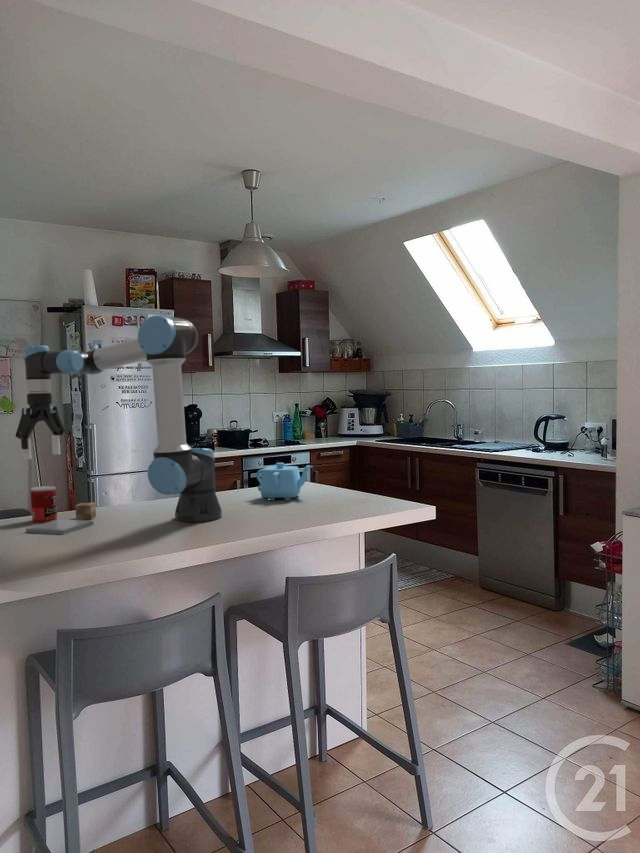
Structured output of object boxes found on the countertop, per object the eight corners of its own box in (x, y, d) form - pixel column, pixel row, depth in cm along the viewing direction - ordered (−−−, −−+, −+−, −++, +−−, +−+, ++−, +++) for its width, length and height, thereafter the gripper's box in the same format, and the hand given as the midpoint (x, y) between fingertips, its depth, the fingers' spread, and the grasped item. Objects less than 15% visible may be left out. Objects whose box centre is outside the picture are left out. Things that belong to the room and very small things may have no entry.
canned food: (48, 523, 218) (46, 489, 217) (27, 522, 220) (25, 489, 219) (62, 518, 225) (60, 485, 225) (41, 517, 227) (39, 485, 226)
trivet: (93, 524, 213) (93, 520, 213) (63, 534, 200) (63, 530, 200) (57, 522, 218) (57, 519, 218) (26, 532, 204) (25, 528, 204)
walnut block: (95, 517, 226) (95, 502, 226) (91, 520, 221) (90, 505, 221) (81, 517, 226) (80, 502, 226) (76, 520, 221) (75, 505, 221)
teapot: (270, 503, 241) (269, 466, 240) (252, 497, 256) (251, 462, 255) (314, 498, 250) (313, 462, 249) (294, 492, 264) (293, 458, 264)
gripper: (55, 391, 233) (58, 452, 234) (0, 393, 209) (4, 461, 211) (73, 391, 230) (76, 452, 232) (20, 393, 207) (23, 461, 208)
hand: (42, 456), depth 221 cm, fingers open, 13 cm apart
